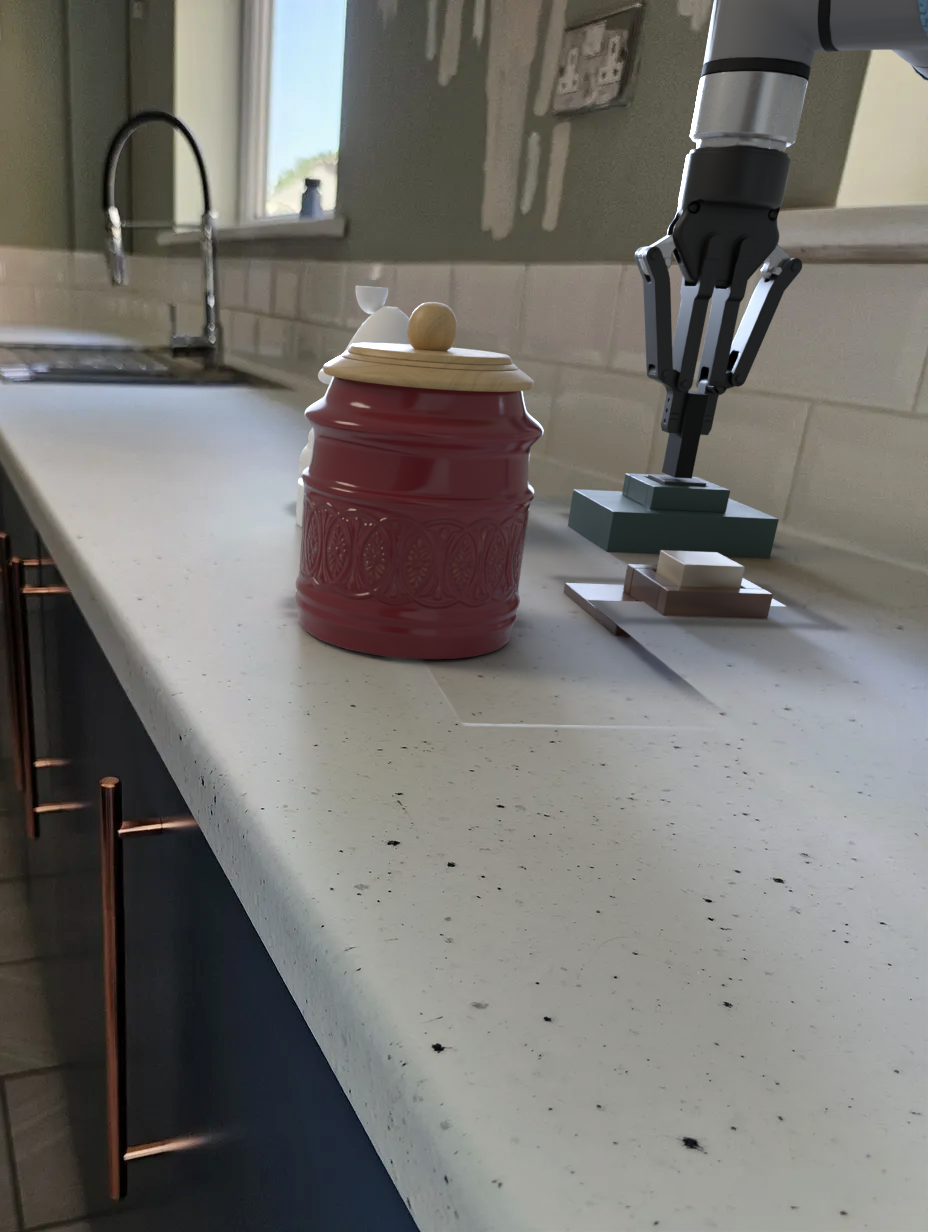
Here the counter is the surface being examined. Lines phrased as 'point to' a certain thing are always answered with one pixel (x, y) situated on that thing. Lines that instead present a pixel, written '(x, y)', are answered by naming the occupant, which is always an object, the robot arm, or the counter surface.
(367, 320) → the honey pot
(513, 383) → the kitchen canister
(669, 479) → the ebony key
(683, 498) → the tiered step pyramid
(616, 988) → the counter surface
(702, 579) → the ivory key
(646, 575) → the stepped block pedestal
